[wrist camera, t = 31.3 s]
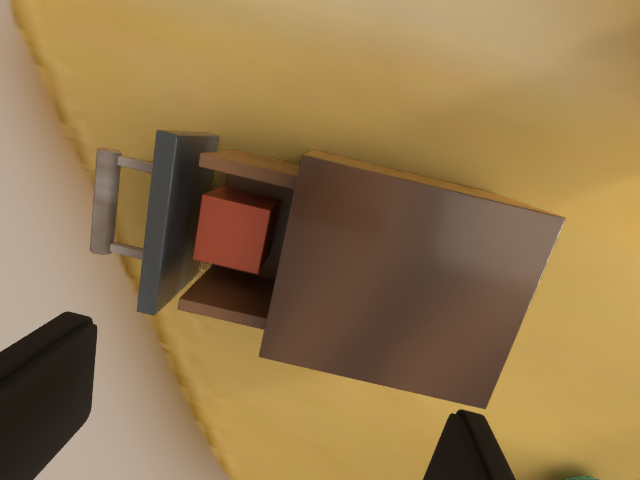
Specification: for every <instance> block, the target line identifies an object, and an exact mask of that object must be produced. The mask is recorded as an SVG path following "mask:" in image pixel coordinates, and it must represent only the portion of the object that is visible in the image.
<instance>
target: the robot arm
mask: <svg viewBox="0 0 640 480" xmlns="http://www.w3.org/2000/svg"><path fill="white" fill-rule="evenodd" d="M96 341H97V326H96V325H95V324H93V321H92V318H90V317H88V316H84V315H80V314H76V313H72V312H64V313H62V314H60V315H59V316H57V317H56V318H54V319H53V320H51V321H49V322H48V323H47V324H44V325H43V326H41V327H40V328H38V329H37V330H35V331H33V332H32V333H30V334H29V335H27V336H25V337H24V338H22V339H21V340H19V341H17V342H16V343H14V344H12V345H11V346H9V347H8V348H6V349H4V350H3V351H1V352H0V480H33V479H34V478H35V477H36V476H37V475H38V474H39V473H40V472H41V471H42V470H43V468H44V467H45V466H46V465H47V464H48V463H49V462H50V461H51V460H52V458H53V457H54V456H55V455H56V454H57V453H58V452H59V451H60V450H61V449H62V448H63V446H64V445H65V444H66V443H67V442H68V441H69V440H70V439H71V438H72V437H73V435H74V434H75V433H76V432H77V431H78V430H79V429H80V428H81V427H82V426H83V424H84V423H85V422H86V420H87V418H88V417H89V414H90V412H91V405H92V392H93V380H94V379H93V378H94V365H95V354H96ZM423 480H516V479H515V477H514V475H513V473H512V471H511V469H510V467H509V465H508V463H507V461H506V459H505V457H504V455H503V453H502V451H501V448H500V446H499V444H498V442H497V440H496V438H495V436H494V434H493V432H492V430H491V428H490V426H489V424H488V422H487V420H486V418H485V417H484V416H483V415H481V414H478V413H474V412H470V411H466V410H462V409H461V410H458V411H457V413H456V414H453V413H452V414H450V415H449V417H448V419H447V422H446V424H445V427H444V429H443V432H442V434H441V437H440V439H439V442H438V444H437V446H436V449H435V451H434V454H433V456H432V459H431V461H430V464H429V466H428V469H427V471H426V473H425V476H424V478H423Z"/></svg>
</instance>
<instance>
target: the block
mask: <svg viewBox="0 0 640 480" xmlns="http://www.w3.org/2000/svg"><path fill="white" fill-rule="evenodd" d="M280 202H281V200H280V199H276V198H272V197H268V196H263V195H259V194H255V193H251V192H247V191H243V190H238V189H234V188H230V187H226V186H222V187H219V188H217V189H215V190H212V191H210V192H207V193H205V194H203V195H202V201H201V207H200V214H199V221H198V227H197V234H196V241H195V247H194V254H193V259H195V260H199V261H203V262H207V263H212V264H216V265H220V266H224V267H229V268H233V269H237V270H241V271H246V272H250V273H254V274H258V273H259V272H260V270H261V268H262V267H263V265H264V263H265V262H266V260H267V258H268V256H269V255H270V251H271V246H272V241H273V236H274V231H275V227H276V222H277V217H278V212H279V207H280Z"/></svg>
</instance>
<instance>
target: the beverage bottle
mask: <svg viewBox="0 0 640 480" xmlns="http://www.w3.org/2000/svg"><path fill="white" fill-rule="evenodd" d="M565 480H599V479H597V478H594V477H590V476H575V477H570V478H567V479H565Z"/></svg>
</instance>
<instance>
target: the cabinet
mask: <svg viewBox="0 0 640 480" xmlns="http://www.w3.org/2000/svg"><path fill="white" fill-rule="evenodd" d="M564 221H565V218H564V217H561V216H559V215H556V214H553V213H550V212H547V211H544V210H541V209H538V208H535V207H532V206H530V205H527V204H524V203H521V202H518V201H515V200H512V199H509V198H506V197H503V196H501V195H498V194H495V193H491V192H487V191H483V190H479V189H474V188H470V187H466V186H462V185H458V184H454V183H450V182H445V181H441V180H437V179H433V178H429V177H425V176H421V175H416V174H412V173H408V172H404V171H400V170H396V169H392V168H387V167H383V166H379V165H375V164H371V163H367V162H363V161H358V160H354V159H350V158H346V157H342V156H338V155H334V154H329V153H325V152H321V151H317V150H312V151H310V152H308V153H306V154H303V155H302V158H301V162H300V167H299V172H298V176H297V181H296V186H295V190H294V195H293V200H292V204H291V209H290V214H289V218H288V223H287V228H286V232H285V237H284V242H283V246H282V251H281V255H280V260H279V265H278V269H277V274H276V279H275V283H274V288H273V293H272V297H271V302H270V307H269V311H268V316H267V321H266V325H265V330H264V335H263V339H262V344H261V349H260V353H259V357H261V358H266V359H270V360H274V361H279V362H283V363H287V364H292V365H296V366H300V367H305V368H309V369H313V370H318V371H322V372H326V373H331V374H335V375H339V376H344V377H348V378H352V379H357V380H361V381H365V382H370V383H374V384H378V385H383V386H387V387H391V388H396V389H400V390H404V391H409V392H413V393H417V394H422V395H426V396H430V397H435V398H439V399H443V400H448V401H452V402H456V403H461V404H465V405H469V406H474V407H478V408H482V409H486V407H487V405H488V402H489V400H490V398H491V395H492V393H493V391H494V388H495V386H496V383H497V381H498V379H499V376H500V374H501V371H502V369H503V367H504V364H505V362H506V360H507V357H508V355H509V352H510V350H511V348H512V345H513V343H514V340H515V338H516V336H517V333H518V331H519V329H520V326H521V324H522V321H523V319H524V317H525V314H526V312H527V310H528V307H529V305H530V302H531V300H532V298H533V295H534V293H535V290H536V288H537V286H538V283H539V281H540V279H541V276H542V274H543V271H544V269H545V267H546V264H547V262H548V259H549V257H550V255H551V252H552V250H553V248H554V245H555V243H556V240H557V238H558V236H559V233H560V231H561V228H562V226H563V224H564Z"/></svg>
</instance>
